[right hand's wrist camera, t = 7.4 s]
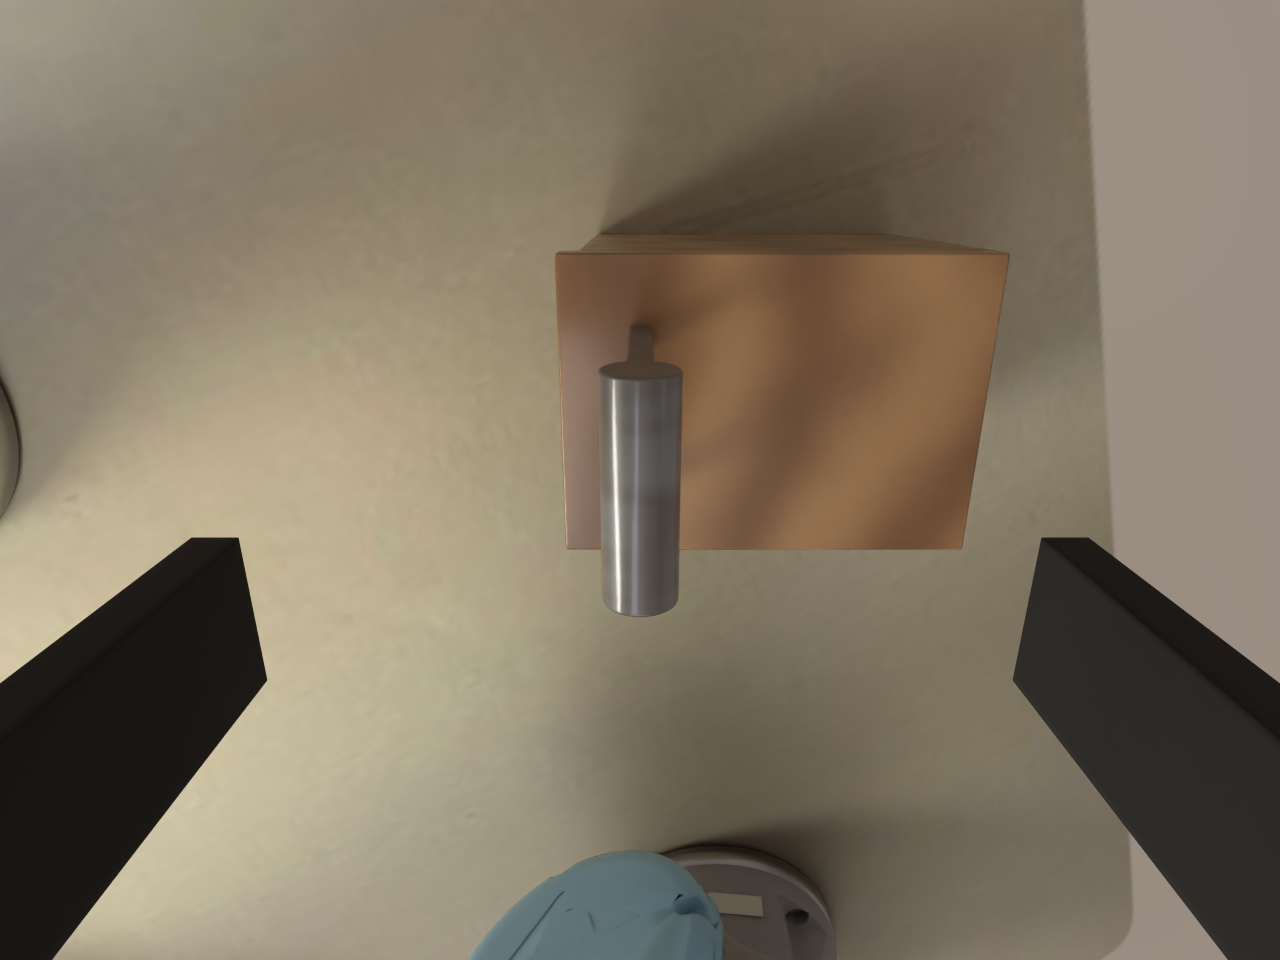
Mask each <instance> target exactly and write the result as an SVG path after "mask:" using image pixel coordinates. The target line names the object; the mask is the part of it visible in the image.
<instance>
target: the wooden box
mask: <svg viewBox="0 0 1280 960" xmlns="http://www.w3.org/2000/svg"><path fill="white" fill-rule="evenodd" d="M579 251H993V250H987V249H980V248H974V247H967V246H961V245H954V244H948V243H941V242H935V241H928V240H922V239H915V238H909V237H902V236H896V235H890V234H598V235H597V236H595V237H594V238H593V239H592V240H591V241H590V242H589V243H587V244H586V245H585V246H584V247H583V248H582V249H581V250H579Z"/></svg>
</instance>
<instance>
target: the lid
mask: <svg viewBox="0 0 1280 960" xmlns="http://www.w3.org/2000/svg"><path fill="white" fill-rule="evenodd" d="M1009 257H1010V255H1009V253H1006V252H999V251H559V252H557V253H556V254H555V269H556V296H557V323H558V349H559V376H560V403H561V429H562V456H563V483H564V509H565V536H566V548H567V549H601V563H602V599H603V602H604V603H605V605H606V606H607V607H608V608H609V609H611V610H612V611H614V612H616V613H619V614H622V615H626V616H633V617H648V616H654V615H659V614H662V613H664V612H667V611H668V610H670V609H671V608H673V607H674V606H675V604H676V603H677V601H678V594H679V549H902V550H960V549H962V545H963V539H964V533H965V527H966V521H967V514H968V508H969V502H970V496H971V490H972V484H973V478H974V471H975V465H976V459H977V453H978V447H979V441H980V435H981V429H982V422H983V416H984V410H985V404H986V398H987V392H988V386H989V379H990V373H991V367H992V361H993V355H994V349H995V343H996V337H997V330H998V324H999V318H1000V312H1001V306H1002V300H1003V294H1004V287H1005V281H1006V275H1007V269H1008V263H1009Z"/></svg>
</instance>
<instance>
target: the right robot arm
mask: <svg viewBox="0 0 1280 960" xmlns="http://www.w3.org/2000/svg"><path fill="white" fill-rule="evenodd" d="M18 464H19V450H18V440H17V433H16V428H15V424H14V420H13V416H12V413H11V410H10V407H9V404H8V402H7V399H6V397H5V395H4V393H3V390H2V388H1V386H0V517H1V515H2V514H3V512H4V511H5V509H6V507H7V505H8V503H9V501H10V499H11V497H12V494H13V491H14V488H15V485H16V480H17V474H18ZM266 681H267V676H266V671H265V666H264V661H263V657H262V652H261V647H260V642H259V637H258V632H257V627H256V622H255V617H254V612H253V607H252V602H251V597H250V592H249V587H248V582H247V577H246V572H245V568H244V563H243V558H242V553H241V548H240V543H239V538H190V539H189V540H188V541H187V542H185V543H184V544H183V545H181V546H180V547H179V548H177V549H176V550H175V551H173V552H172V553H171V554H169V555H168V556H167V557H166V558H164V559H163V560H162V561H160V562H159V563H158V564H156V565H155V566H154V567H152V568H151V569H150V570H148V571H147V572H146V573H144V574H143V575H142V576H141V577H139V578H138V579H137V580H135V581H134V582H133V583H131V584H130V585H129V586H127V587H126V588H125V589H123V590H122V591H121V592H120V593H118V594H117V595H116V596H114V597H113V598H112V599H110V600H109V601H108V602H106V603H105V604H104V605H102V606H101V607H100V608H99V609H97V610H96V611H95V612H93V613H92V614H91V615H89V616H88V617H87V618H85V619H84V620H83V621H81V622H80V623H79V624H78V625H76V626H75V627H74V628H72V629H71V630H70V631H68V632H67V633H66V634H64V635H63V636H62V637H60V638H59V639H58V640H56V641H55V642H54V643H53V644H51V645H50V646H49V647H47V648H46V649H45V650H43V651H42V652H41V653H39V654H38V655H37V656H35V657H34V658H33V659H32V660H30V661H29V662H28V663H26V664H25V665H24V666H22V667H21V668H20V669H18V670H17V671H16V672H14V673H13V674H12V675H11V676H9V677H8V678H7V679H5V680H4V681H3V682H1V683H0V960H52V959H53V958H54V957H55V955H56V954H57V953H58V951H59V950H60V949H61V947H62V946H63V945H64V944H65V942H66V941H67V940H68V938H69V937H70V936H71V934H72V933H73V932H74V931H75V929H76V928H77V927H78V925H79V924H80V923H81V921H82V920H83V919H84V918H85V916H86V915H87V914H88V912H89V911H90V910H91V908H92V907H93V906H94V905H95V903H96V902H97V901H98V899H99V898H100V897H101V896H102V894H103V893H104V892H105V890H106V889H107V888H108V886H109V885H110V884H111V883H112V881H113V880H114V879H115V877H116V876H117V875H118V873H119V872H120V871H121V870H122V868H123V867H124V866H125V864H126V863H127V862H128V860H129V859H130V858H131V857H132V855H133V854H134V853H135V851H136V850H137V849H138V847H139V846H140V845H141V844H142V842H143V841H144V840H145V838H146V837H147V836H148V834H149V833H150V832H151V831H152V829H153V828H154V827H155V825H156V824H157V823H158V821H159V820H160V819H161V818H162V816H163V815H164V814H165V812H166V811H167V810H168V809H169V807H170V806H171V805H172V803H173V802H174V801H175V799H176V798H177V797H178V796H179V794H180V793H181V792H182V790H183V789H184V788H185V786H186V785H187V784H188V783H189V781H190V780H191V779H192V777H193V776H194V775H195V773H196V772H197V771H198V770H199V768H200V767H201V766H202V764H203V763H204V762H205V760H206V759H207V758H208V757H209V755H210V754H211V753H212V751H213V750H214V749H215V747H216V746H217V745H218V744H219V742H220V741H221V740H222V738H223V737H224V736H225V734H226V733H227V732H228V731H229V729H230V728H231V727H232V725H233V724H234V723H235V722H236V720H237V719H238V718H239V716H240V715H241V714H242V712H243V711H244V710H245V709H246V707H247V706H248V705H249V703H250V702H251V701H252V699H253V698H254V697H255V696H256V694H257V693H258V692H259V690H260V689H261V688H262V686H263V685H264V684H265V683H266ZM1013 681H1014V683H1015V684H1016V685H1017V686H1018V688H1019V689H1020V690H1021V692H1022V693H1023V694H1024V696H1025V697H1026V698H1027V699H1028V701H1029V702H1030V703H1031V705H1032V706H1033V707H1034V709H1035V710H1036V711H1037V712H1038V714H1039V715H1040V716H1041V718H1042V719H1043V720H1044V722H1045V723H1046V724H1047V725H1048V727H1049V728H1050V729H1051V731H1052V732H1053V733H1054V734H1055V736H1056V737H1057V738H1058V740H1059V741H1060V742H1061V744H1062V745H1063V746H1064V747H1065V749H1066V750H1067V751H1068V753H1069V754H1070V755H1071V757H1072V758H1073V759H1074V760H1075V762H1076V763H1077V764H1078V766H1079V767H1080V768H1081V770H1082V771H1083V772H1084V773H1085V775H1086V776H1087V777H1088V779H1089V780H1090V781H1091V783H1092V784H1093V785H1094V786H1095V788H1096V789H1097V790H1098V792H1099V793H1100V794H1101V796H1102V797H1103V798H1104V799H1105V801H1106V802H1107V803H1108V805H1109V806H1110V807H1111V809H1112V810H1113V811H1114V812H1115V814H1116V815H1117V816H1118V818H1119V819H1120V820H1121V821H1122V823H1123V824H1124V825H1125V827H1126V828H1127V829H1128V831H1129V832H1130V833H1131V834H1132V836H1133V837H1134V838H1135V840H1136V841H1137V842H1138V844H1139V845H1140V846H1141V847H1142V849H1143V850H1144V851H1145V853H1146V854H1147V855H1148V857H1149V858H1150V859H1151V860H1152V862H1153V863H1154V864H1155V866H1156V867H1157V868H1158V870H1159V871H1160V872H1161V873H1162V875H1163V876H1164V877H1165V879H1166V880H1167V881H1168V883H1169V884H1170V885H1171V886H1172V888H1173V889H1174V890H1175V892H1176V893H1177V894H1178V896H1179V897H1180V898H1181V899H1182V901H1183V902H1184V903H1185V905H1186V906H1187V907H1188V908H1189V910H1190V911H1191V912H1192V914H1193V915H1194V916H1195V918H1196V919H1197V920H1198V921H1199V923H1200V924H1201V925H1202V927H1203V928H1204V929H1205V931H1206V932H1207V933H1208V934H1209V936H1210V937H1211V938H1212V940H1213V941H1214V942H1215V944H1216V945H1217V946H1218V947H1219V949H1220V950H1221V951H1222V953H1223V954H1224V955H1225V957H1226V958H1227V959H1228V960H1280V683H1279V682H1277V681H1276V680H1275V679H1273V678H1272V677H1271V676H1269V675H1268V674H1267V673H1266V672H1264V671H1263V670H1262V669H1260V668H1259V667H1258V666H1256V665H1255V664H1254V663H1252V662H1251V661H1250V660H1248V659H1247V658H1246V657H1245V656H1243V655H1242V654H1241V653H1239V652H1238V651H1237V650H1235V649H1234V648H1233V647H1231V646H1230V645H1229V644H1227V643H1226V642H1225V641H1223V640H1222V639H1221V638H1220V637H1218V636H1217V635H1216V634H1214V633H1213V632H1212V631H1210V630H1209V629H1208V628H1206V627H1205V626H1204V625H1202V624H1201V623H1200V622H1199V621H1197V620H1196V619H1195V618H1193V617H1192V616H1191V615H1189V614H1188V613H1187V612H1185V611H1184V610H1183V609H1181V608H1180V607H1179V606H1178V605H1176V604H1175V603H1174V602H1172V601H1171V600H1170V599H1168V598H1167V597H1166V596H1164V595H1163V594H1162V593H1160V592H1159V591H1158V590H1156V589H1155V588H1154V587H1153V586H1151V585H1150V584H1149V583H1147V582H1146V581H1145V580H1143V579H1142V578H1141V577H1139V576H1138V575H1137V574H1135V573H1134V572H1133V571H1132V570H1130V569H1129V568H1128V567H1126V566H1125V565H1124V564H1122V563H1121V562H1120V561H1118V560H1117V559H1116V558H1114V557H1113V556H1112V555H1111V554H1109V553H1108V552H1107V551H1105V550H1104V549H1103V548H1101V547H1100V546H1099V545H1097V544H1096V543H1095V542H1093V541H1092V540H1091V539H1090V538H1041V543H1040V548H1039V553H1038V558H1037V563H1036V568H1035V572H1034V577H1033V582H1032V587H1031V592H1030V597H1029V602H1028V607H1027V612H1026V617H1025V622H1024V627H1023V632H1022V637H1021V642H1020V647H1019V652H1018V657H1017V661H1016V666H1015V671H1014V676H1013Z"/></svg>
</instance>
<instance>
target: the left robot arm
mask: <svg viewBox="0 0 1280 960" xmlns="http://www.w3.org/2000/svg"><path fill="white" fill-rule="evenodd" d="M469 960H837V956H836V946H835V937H834V932H833V928H832V924H831V920H830V917H829V913H828V910H827V907H826V904H825V902H824V900H823V898H822V896H821V895H820V893H819V892H818V890H817V889H816V887H815V886H814V885H813V884H812V883H811V882H810V881H809V880H808V879H807V878H806V877H805V876H804V875H803V874H802V873H800V872H799V871H798V870H796V869H795V868H794V867H792V866H790V865H789V864H787V863H785V862H783V861H781V860H779V859H777V858H775V857H773V856H770V855H767V854H764V853H761V852H758V851H754V850H750V849H745V848H740V847H731V846H700V847H691V848H686V849H681V850H676V851H673V852H669V853H666V854H663V855H659V854H656V853H652V852H645V851H633V850H630V851H616V852H610V853H606V854H602V855H598V856H595V857H592V858H589V859H586V860H583V861H581V862H579V863H577V864H575V865H573V866H572V867H571V868H569V869H568V870H566V871H565V872H563V873H562V874H560V875H557V876H555V877H550V878H548V879H547V880H546V881H544V882H543V883H541V884H540V885H538V886H537V887H536V888H534V889H533V890H532V891H530V892H529V893H528V894H527V895H526V896H525V897H523V898H522V899H521V900H520V901H519V902H517V903H516V904H515V905H514V906H513V907H512V908H511V909H510V910H509V911H508V912H507V913H506V914H505V915H504V916H503V917H502V918H501V919H500V920H499V921H498V922H497V923H496V925H495V926H494V927H493V928H492V929H491V930H490V931H489V933H488V934H487V935H486V936H485V938H484V939H483V940H482V941H481V943H480V944H479V945H478V947H477V948H476V950H475V951H474V952H473V954H472V955H471V957H470V958H469Z"/></svg>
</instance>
